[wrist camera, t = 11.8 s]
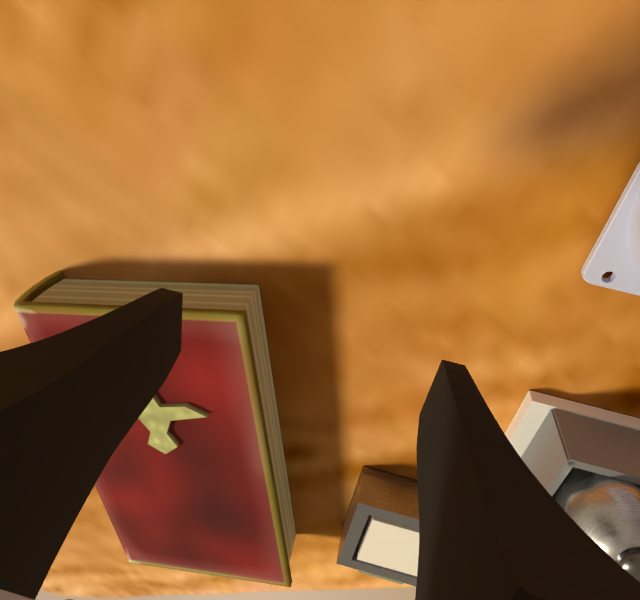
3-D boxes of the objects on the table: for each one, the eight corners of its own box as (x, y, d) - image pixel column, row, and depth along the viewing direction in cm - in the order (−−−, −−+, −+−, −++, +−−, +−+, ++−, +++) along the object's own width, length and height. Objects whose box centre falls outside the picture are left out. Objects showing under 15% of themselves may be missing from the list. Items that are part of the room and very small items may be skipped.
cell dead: (629, 444, 24) (710, 547, 18) (604, 501, 25) (672, 617, 19) (555, 428, 24) (611, 525, 18) (534, 486, 25) (579, 595, 19)
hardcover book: (151, 512, 37) (122, 565, 34) (58, 268, 27) (1, 308, 23) (303, 532, 35) (289, 591, 31) (268, 273, 24) (241, 318, 21)
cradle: (466, 494, 29) (470, 533, 27) (427, 565, 33) (427, 604, 31) (363, 466, 29) (358, 502, 27) (337, 539, 34) (331, 576, 32)
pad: (444, 524, 28) (444, 540, 27) (423, 562, 31) (423, 578, 30) (374, 504, 29) (372, 519, 28) (358, 544, 31) (357, 559, 30)
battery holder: (669, 426, 24) (709, 494, 21) (570, 546, 30) (589, 615, 26) (529, 389, 24) (546, 451, 21) (458, 515, 30) (463, 579, 27)
